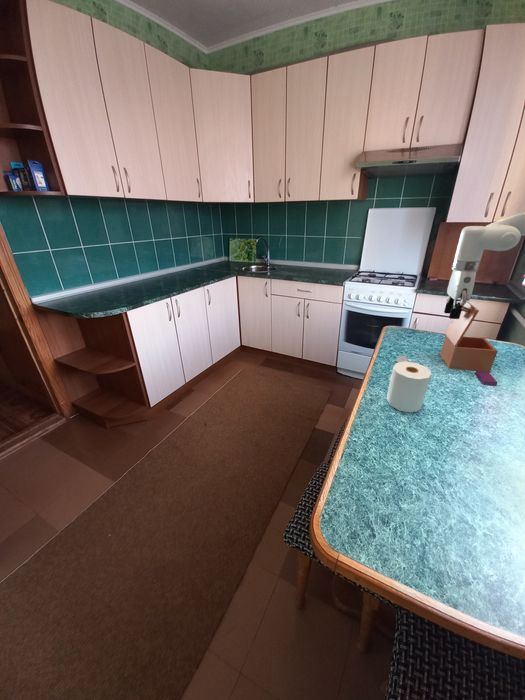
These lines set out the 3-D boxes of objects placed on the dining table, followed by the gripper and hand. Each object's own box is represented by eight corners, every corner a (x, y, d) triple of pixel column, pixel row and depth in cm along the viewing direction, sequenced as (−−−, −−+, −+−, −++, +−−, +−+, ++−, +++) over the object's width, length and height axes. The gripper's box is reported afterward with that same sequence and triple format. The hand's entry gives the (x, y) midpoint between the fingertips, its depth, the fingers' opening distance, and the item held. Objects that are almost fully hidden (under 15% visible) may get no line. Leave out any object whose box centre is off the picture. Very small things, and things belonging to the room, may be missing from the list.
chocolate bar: (474, 374, 106) (476, 370, 105) (487, 375, 105) (488, 371, 104) (482, 384, 100) (484, 380, 99) (496, 386, 99) (497, 382, 98)
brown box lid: (466, 300, 109) (452, 296, 109) (479, 310, 99) (463, 306, 99) (446, 334, 116) (433, 330, 116) (456, 346, 106) (441, 342, 106)
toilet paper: (387, 390, 98) (394, 358, 92) (421, 397, 94) (430, 365, 88) (385, 407, 90) (392, 374, 84) (422, 416, 86) (432, 381, 80)
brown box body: (477, 357, 117) (484, 337, 113) (489, 372, 107) (498, 350, 103) (439, 354, 120) (445, 334, 116) (448, 368, 110) (455, 347, 106)
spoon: (409, 360, 116) (409, 356, 115) (396, 383, 101) (397, 379, 100) (398, 357, 118) (398, 353, 117) (384, 380, 103) (385, 376, 102)
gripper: (488, 270, 90) (471, 325, 99) (468, 261, 105) (454, 309, 113) (461, 270, 92) (447, 323, 100) (445, 260, 107) (433, 308, 115)
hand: (451, 315), depth 107 cm, fingers closed on brown box lid, 5 cm apart
